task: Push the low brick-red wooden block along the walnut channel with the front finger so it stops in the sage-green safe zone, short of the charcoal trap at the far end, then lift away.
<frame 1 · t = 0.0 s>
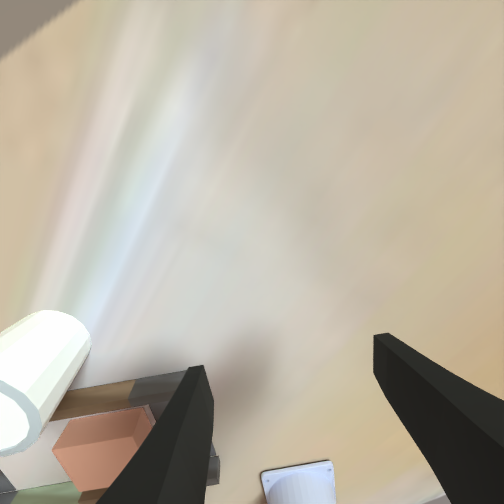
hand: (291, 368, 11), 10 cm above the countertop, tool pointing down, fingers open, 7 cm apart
shot glass: (57, 337, 22), on the countertop
brick block: (118, 431, 26), resting in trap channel
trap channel: (67, 444, 25), on the countertop
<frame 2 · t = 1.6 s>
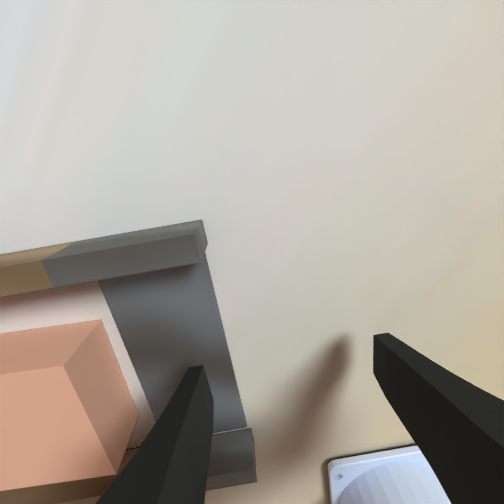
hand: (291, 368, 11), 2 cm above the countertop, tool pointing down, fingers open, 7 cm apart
brick block: (53, 376, 13), resting in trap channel
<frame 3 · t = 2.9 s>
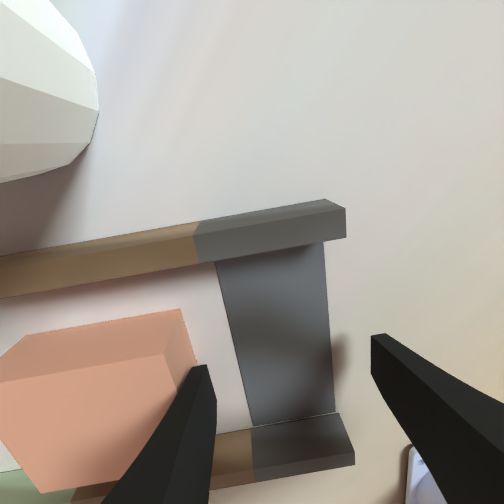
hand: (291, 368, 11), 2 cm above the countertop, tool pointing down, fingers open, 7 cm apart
shot glass: (12, 84, 8), on the countertop
brick block: (126, 370, 13), resting in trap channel, touching gripper
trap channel: (48, 383, 12), on the countertop
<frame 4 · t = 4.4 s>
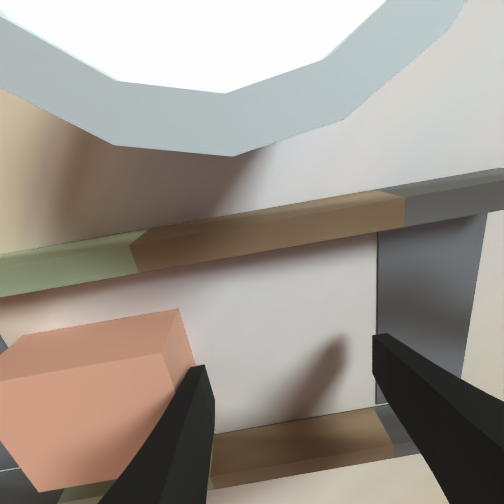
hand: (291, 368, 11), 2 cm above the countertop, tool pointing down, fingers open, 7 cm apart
shot glass: (220, 45, 8), on the countertop
brick block: (125, 369, 13), resting in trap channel, touching gripper
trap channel: (189, 357, 12), on the countertop
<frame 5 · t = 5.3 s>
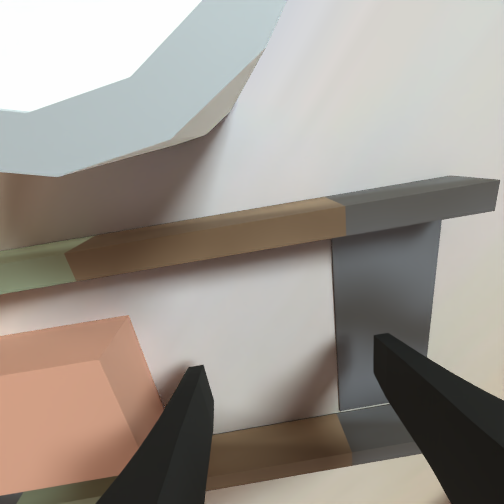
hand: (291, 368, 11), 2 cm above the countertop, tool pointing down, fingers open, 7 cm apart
shot glass: (159, 50, 8), on the countertop
brick block: (79, 374, 13), resting in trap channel
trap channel: (145, 364, 12), on the countertop
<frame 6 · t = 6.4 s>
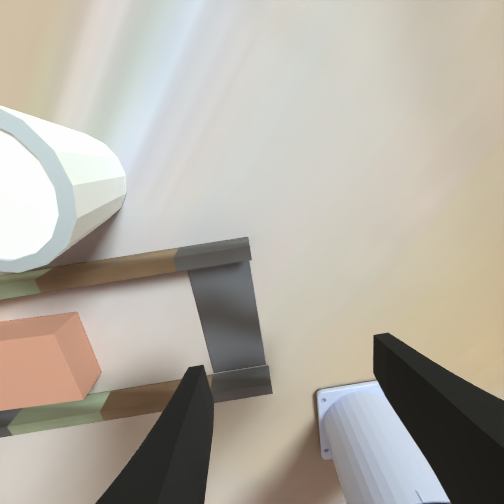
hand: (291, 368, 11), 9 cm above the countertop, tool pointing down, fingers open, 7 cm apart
shot glass: (83, 179, 17), on the countertop
brick block: (49, 346, 21), resting in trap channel
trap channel: (87, 340, 21), on the countertop
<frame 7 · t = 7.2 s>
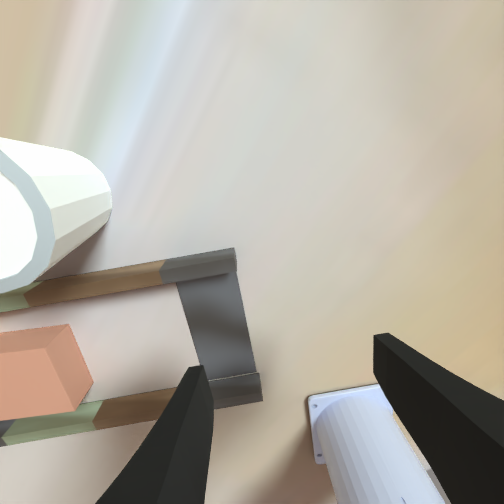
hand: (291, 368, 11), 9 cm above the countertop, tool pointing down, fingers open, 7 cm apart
shot glass: (69, 194, 17), on the countertop
brick block: (41, 357, 21), resting in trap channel
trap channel: (79, 351, 21), on the countertop
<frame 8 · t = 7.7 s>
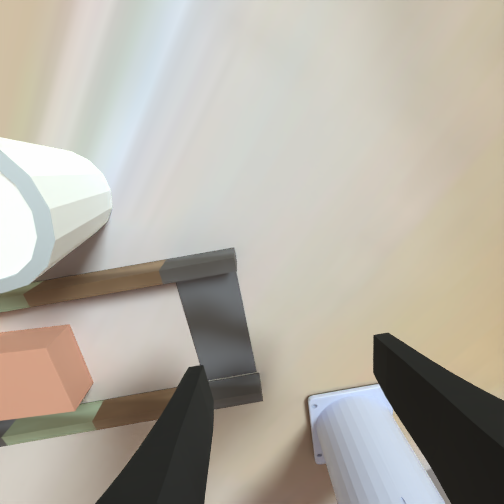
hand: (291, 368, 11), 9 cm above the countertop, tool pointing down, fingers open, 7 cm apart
shot glass: (69, 194, 17), on the countertop
brick block: (41, 357, 21), resting in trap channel
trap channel: (79, 351, 21), on the countertop
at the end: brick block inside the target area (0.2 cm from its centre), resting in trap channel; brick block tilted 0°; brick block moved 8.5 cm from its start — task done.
